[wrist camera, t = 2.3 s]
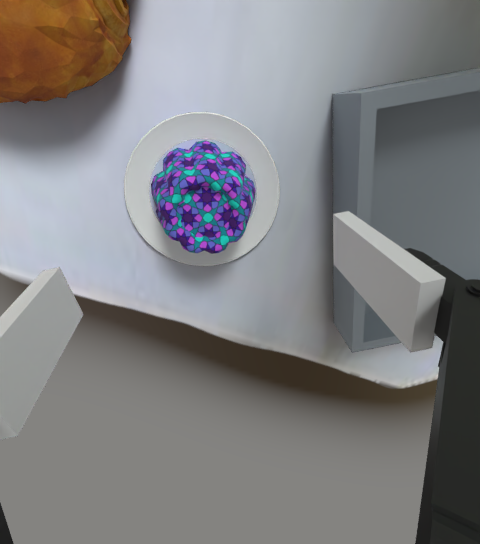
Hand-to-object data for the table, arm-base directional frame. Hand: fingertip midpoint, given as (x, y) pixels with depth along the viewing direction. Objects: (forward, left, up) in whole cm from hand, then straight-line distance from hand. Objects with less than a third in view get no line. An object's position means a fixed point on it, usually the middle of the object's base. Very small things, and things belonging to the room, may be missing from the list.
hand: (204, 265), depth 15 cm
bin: (+5, +21, -11) cm, 24 cm away
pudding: (0, 0, -12) cm, 12 cm away
